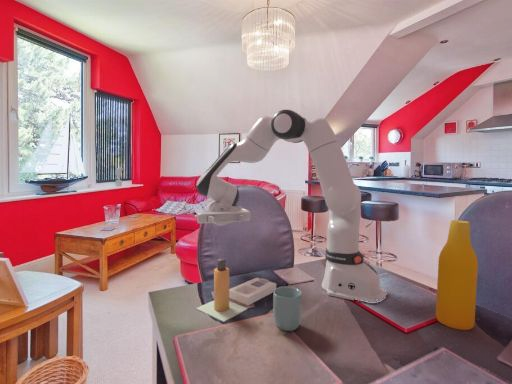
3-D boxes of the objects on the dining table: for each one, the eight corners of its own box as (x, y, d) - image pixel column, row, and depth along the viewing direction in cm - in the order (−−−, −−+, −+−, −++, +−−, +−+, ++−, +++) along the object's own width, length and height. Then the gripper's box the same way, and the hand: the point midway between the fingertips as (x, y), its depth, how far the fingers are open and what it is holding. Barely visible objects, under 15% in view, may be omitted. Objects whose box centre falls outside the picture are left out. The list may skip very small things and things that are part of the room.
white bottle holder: (256, 286, 109) (256, 275, 109) (276, 293, 103) (276, 281, 103) (227, 300, 98) (227, 288, 97) (248, 308, 92) (248, 295, 92)
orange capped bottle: (232, 307, 90) (232, 259, 88) (221, 313, 86) (221, 263, 85) (221, 303, 92) (221, 256, 91) (211, 308, 89) (210, 260, 88)
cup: (303, 322, 83) (304, 288, 83) (298, 337, 76) (299, 299, 75) (277, 318, 86) (277, 284, 85) (269, 332, 79) (269, 295, 78)
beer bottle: (482, 332, 79) (488, 224, 77) (444, 329, 80) (449, 223, 78) (463, 315, 88) (469, 219, 86) (429, 313, 89) (434, 218, 87)
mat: (247, 312, 89) (247, 308, 89) (223, 325, 82) (223, 321, 82) (220, 301, 97) (220, 297, 97) (195, 312, 89) (195, 308, 89)
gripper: (193, 207, 115) (198, 212, 102) (244, 205, 121) (254, 209, 108) (194, 223, 115) (198, 230, 102) (244, 220, 122) (254, 226, 109)
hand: (228, 219), depth 105 cm, fingers open, 8 cm apart
